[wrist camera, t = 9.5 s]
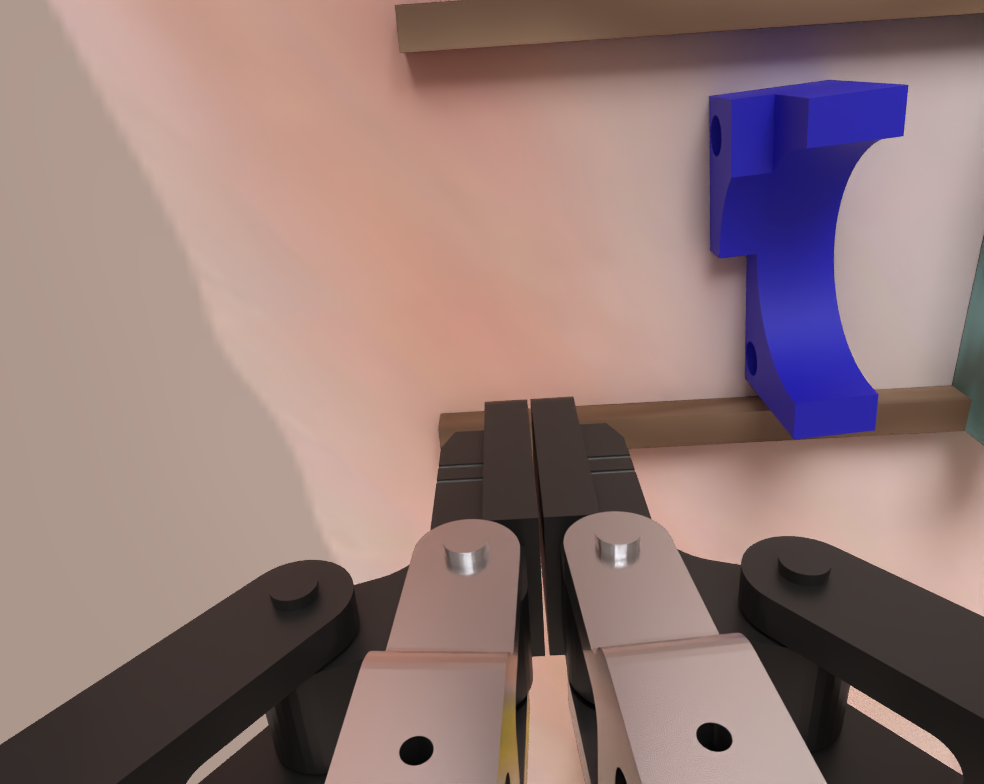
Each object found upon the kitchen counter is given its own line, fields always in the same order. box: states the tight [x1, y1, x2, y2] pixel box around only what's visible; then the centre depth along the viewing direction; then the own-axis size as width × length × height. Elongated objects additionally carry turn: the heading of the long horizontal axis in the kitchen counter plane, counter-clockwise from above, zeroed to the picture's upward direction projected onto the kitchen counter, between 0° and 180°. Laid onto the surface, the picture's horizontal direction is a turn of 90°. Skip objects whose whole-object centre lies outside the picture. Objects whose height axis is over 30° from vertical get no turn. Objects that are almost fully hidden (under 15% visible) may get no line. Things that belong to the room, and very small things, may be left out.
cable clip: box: [709, 80, 908, 439], centre depth 28 cm, size 12×4×6 cm, turn 7°
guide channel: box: [395, 0, 984, 454], centre depth 28 cm, size 18×26×6 cm
